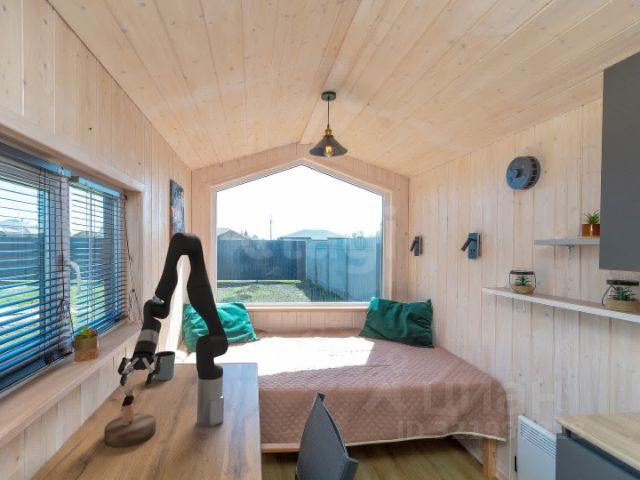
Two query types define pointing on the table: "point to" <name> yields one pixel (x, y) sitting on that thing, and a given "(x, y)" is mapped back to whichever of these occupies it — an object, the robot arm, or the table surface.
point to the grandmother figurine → (128, 406)
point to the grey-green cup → (165, 365)
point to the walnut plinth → (129, 431)
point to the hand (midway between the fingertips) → (135, 385)
